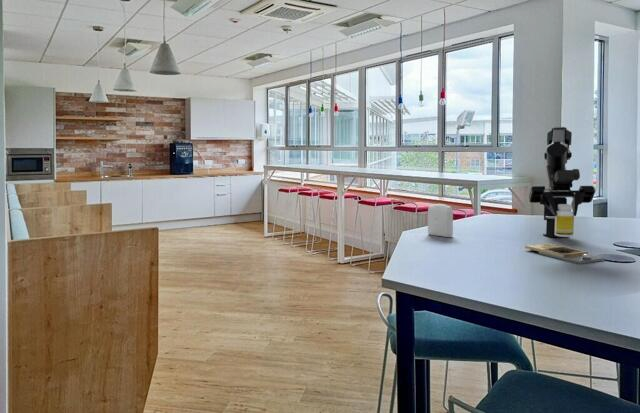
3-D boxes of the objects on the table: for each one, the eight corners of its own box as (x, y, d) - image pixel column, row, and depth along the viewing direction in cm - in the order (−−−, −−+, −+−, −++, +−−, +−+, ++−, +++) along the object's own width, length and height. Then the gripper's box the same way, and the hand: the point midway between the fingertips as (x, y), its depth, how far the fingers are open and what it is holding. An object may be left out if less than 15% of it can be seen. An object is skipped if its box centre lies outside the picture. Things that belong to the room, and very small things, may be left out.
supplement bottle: (576, 237, 164) (577, 205, 163) (558, 237, 164) (559, 206, 163) (568, 233, 169) (569, 203, 168) (551, 234, 169) (552, 203, 168)
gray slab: (604, 260, 159) (604, 254, 159) (579, 264, 155) (579, 257, 155) (548, 247, 179) (548, 241, 179) (525, 250, 175) (525, 244, 175)
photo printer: (426, 234, 208) (426, 203, 207) (433, 233, 211) (433, 202, 209) (447, 238, 200) (447, 205, 199) (454, 236, 203) (454, 204, 201)
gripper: (531, 160, 169) (538, 199, 160) (594, 160, 166) (605, 199, 156) (526, 183, 178) (532, 220, 168) (586, 182, 174) (595, 221, 165)
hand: (565, 215), depth 164 cm, fingers closed on supplement bottle, 5 cm apart
